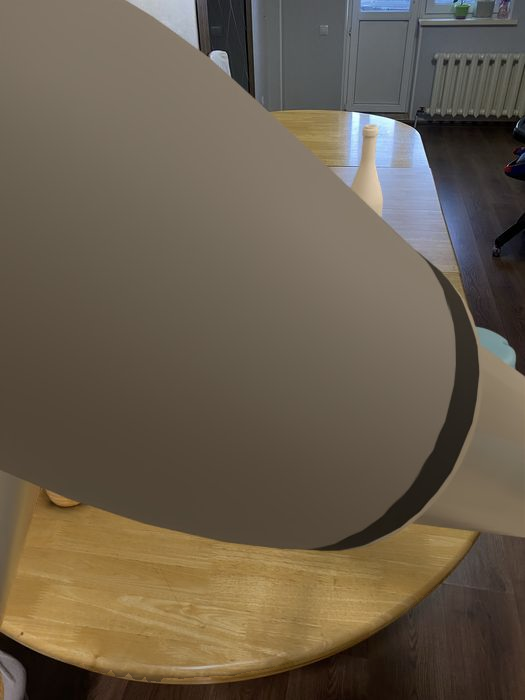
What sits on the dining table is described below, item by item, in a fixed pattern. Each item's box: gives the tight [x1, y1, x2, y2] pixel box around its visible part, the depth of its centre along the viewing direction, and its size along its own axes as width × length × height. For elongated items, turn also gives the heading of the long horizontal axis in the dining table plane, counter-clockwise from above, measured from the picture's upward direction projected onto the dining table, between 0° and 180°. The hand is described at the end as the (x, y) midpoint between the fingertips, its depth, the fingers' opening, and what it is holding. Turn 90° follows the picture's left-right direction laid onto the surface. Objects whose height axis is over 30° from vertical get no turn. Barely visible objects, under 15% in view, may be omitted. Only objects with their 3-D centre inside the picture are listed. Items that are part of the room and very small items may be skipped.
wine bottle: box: [350, 123, 384, 219], centre depth 134 cm, size 10×10×30 cm
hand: (176, 381), depth 65 cm, fingers closed on can, 7 cm apart
